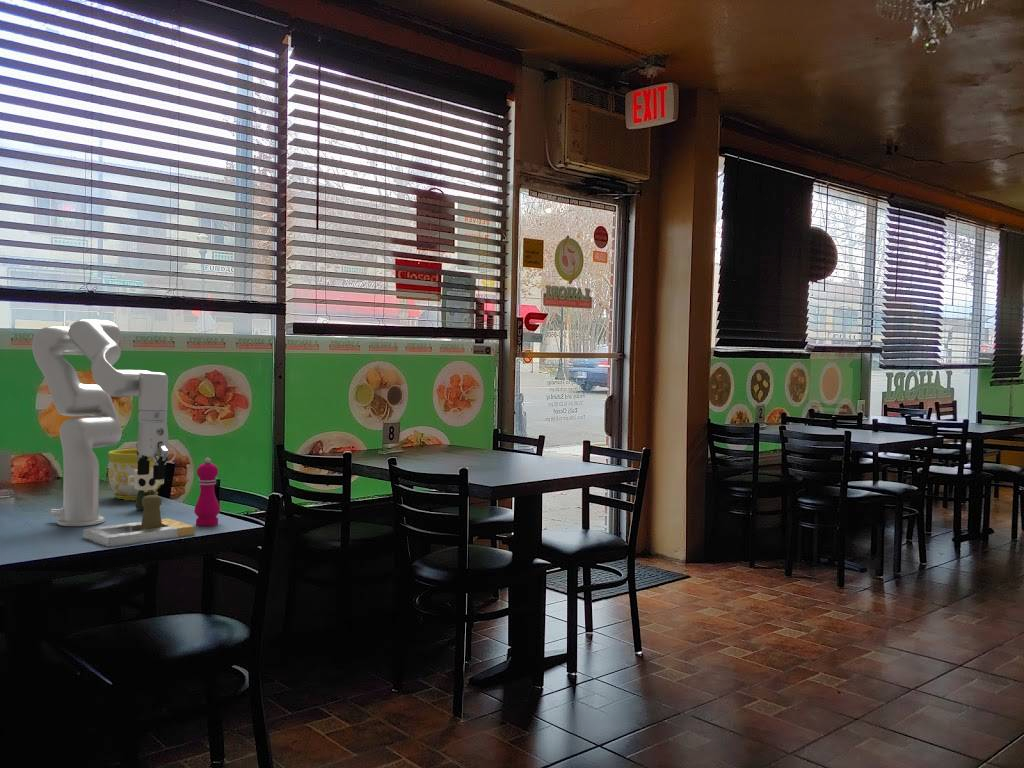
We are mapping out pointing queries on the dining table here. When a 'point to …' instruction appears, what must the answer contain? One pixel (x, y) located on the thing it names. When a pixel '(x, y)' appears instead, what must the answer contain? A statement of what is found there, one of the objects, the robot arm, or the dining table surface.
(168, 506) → the dining table surface
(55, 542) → the dining table surface
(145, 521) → the brown shaker
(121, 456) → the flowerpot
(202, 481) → the pepper mill
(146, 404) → the robot arm
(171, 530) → the white and tan tray
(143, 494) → the character mug
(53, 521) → the dining table surface
